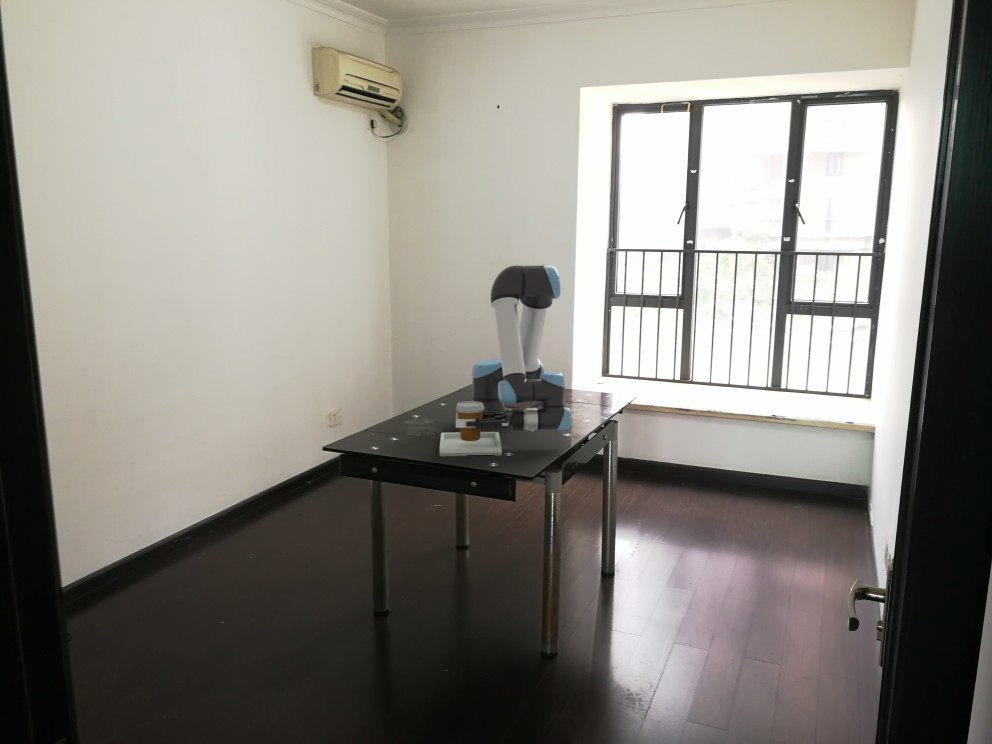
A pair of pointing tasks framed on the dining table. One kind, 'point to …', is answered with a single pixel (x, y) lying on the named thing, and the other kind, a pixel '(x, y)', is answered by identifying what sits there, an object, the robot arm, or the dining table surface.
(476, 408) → the disposable coffee cup
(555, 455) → the dining table surface
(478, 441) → the tray
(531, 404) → the hardcover book
